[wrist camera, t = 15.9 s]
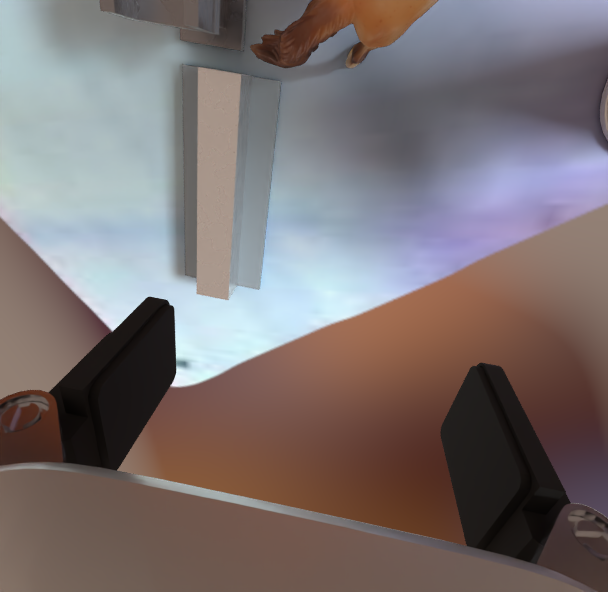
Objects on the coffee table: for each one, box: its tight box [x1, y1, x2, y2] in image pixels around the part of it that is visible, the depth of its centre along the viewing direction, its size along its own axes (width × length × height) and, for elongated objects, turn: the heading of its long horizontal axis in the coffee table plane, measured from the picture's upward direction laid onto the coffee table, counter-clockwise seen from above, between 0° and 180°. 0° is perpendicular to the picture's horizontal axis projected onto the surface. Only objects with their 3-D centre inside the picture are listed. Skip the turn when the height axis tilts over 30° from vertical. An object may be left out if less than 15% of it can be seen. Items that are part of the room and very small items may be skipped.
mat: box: [182, 64, 281, 290], centre depth 43 cm, size 10×24×1 cm, turn 172°
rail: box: [197, 67, 252, 300], centre depth 41 cm, size 4×24×4 cm, turn 171°
